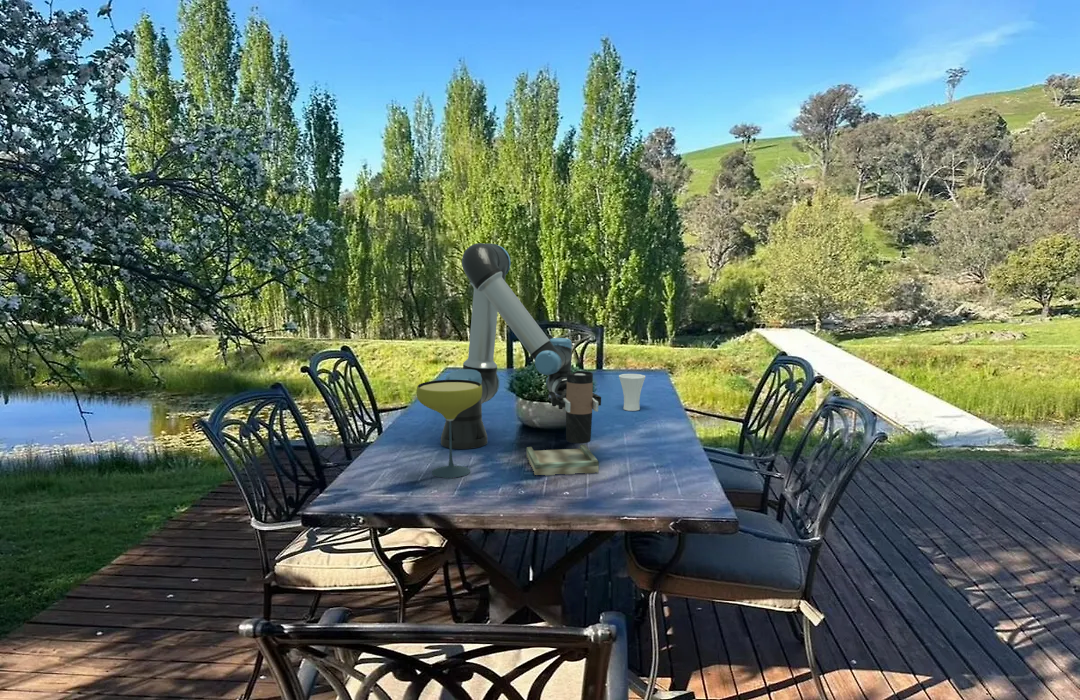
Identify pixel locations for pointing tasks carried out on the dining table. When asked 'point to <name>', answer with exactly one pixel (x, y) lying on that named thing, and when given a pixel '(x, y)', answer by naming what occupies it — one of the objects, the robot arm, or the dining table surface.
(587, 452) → the tray
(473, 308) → the robot arm
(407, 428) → the dining table surface
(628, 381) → the cup
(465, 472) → the cocktail glass
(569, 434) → the travel mug
